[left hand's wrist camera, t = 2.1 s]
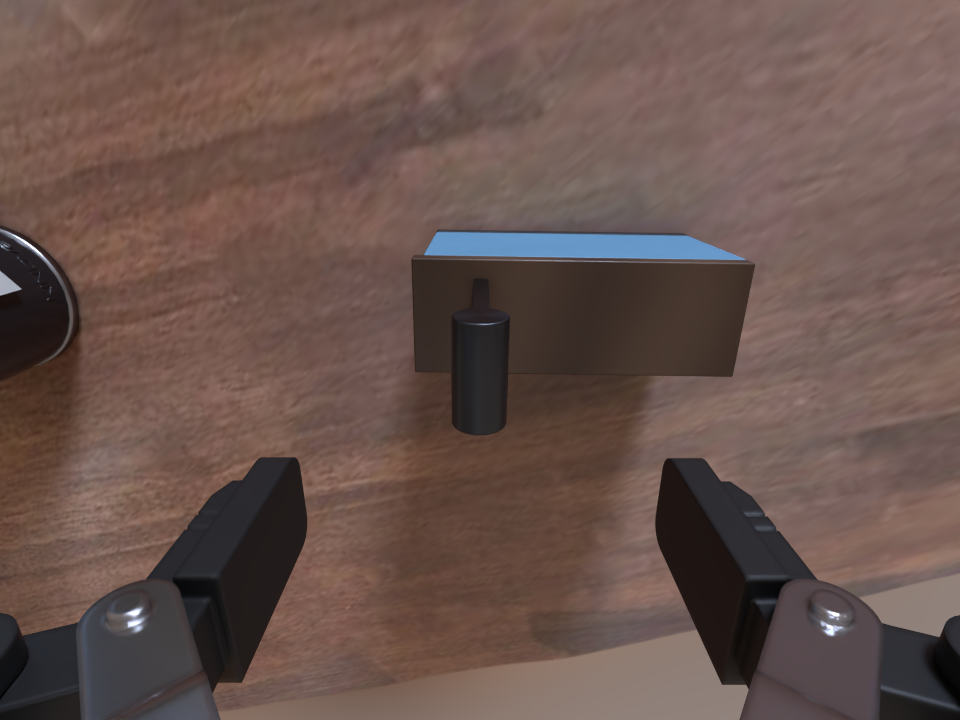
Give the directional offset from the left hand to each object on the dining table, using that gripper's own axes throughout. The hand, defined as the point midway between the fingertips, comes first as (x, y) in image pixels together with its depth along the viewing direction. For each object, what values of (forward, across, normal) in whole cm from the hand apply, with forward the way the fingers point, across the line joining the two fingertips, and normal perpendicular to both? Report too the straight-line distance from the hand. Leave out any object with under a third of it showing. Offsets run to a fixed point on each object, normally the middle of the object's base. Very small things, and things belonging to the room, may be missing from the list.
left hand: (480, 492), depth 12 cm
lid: (+15, -5, 0) cm, 16 cm away
